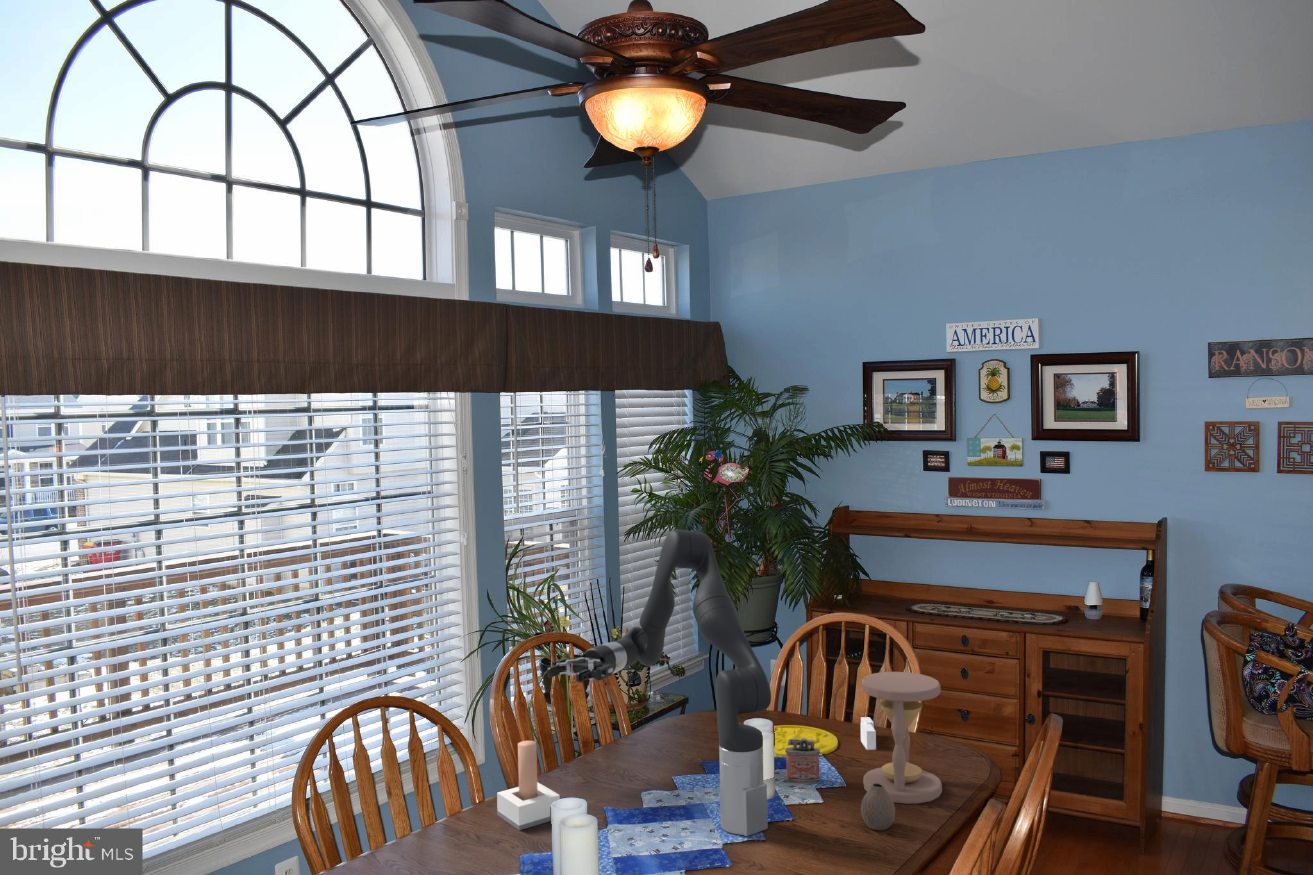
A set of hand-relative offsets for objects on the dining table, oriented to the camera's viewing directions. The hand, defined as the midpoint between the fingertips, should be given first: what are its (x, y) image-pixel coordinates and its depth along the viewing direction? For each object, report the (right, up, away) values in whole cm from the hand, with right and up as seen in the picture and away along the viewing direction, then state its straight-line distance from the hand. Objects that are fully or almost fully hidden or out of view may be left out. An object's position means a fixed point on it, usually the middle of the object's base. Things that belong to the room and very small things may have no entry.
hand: (562, 675), depth 219 cm
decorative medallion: (+58, -27, +35) cm, 73 cm away
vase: (+68, -27, -18) cm, 75 cm away
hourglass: (+78, -27, +2) cm, 83 cm away
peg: (-6, -27, -10) cm, 30 cm away
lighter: (+56, -27, +8) cm, 63 cm away
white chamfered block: (+78, -27, +35) cm, 89 cm away
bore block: (-7, -28, -10) cm, 31 cm away
